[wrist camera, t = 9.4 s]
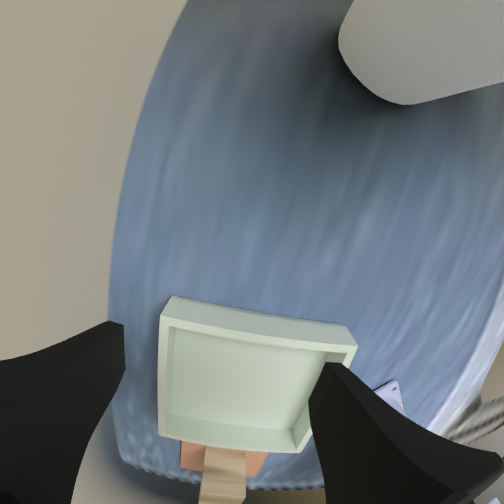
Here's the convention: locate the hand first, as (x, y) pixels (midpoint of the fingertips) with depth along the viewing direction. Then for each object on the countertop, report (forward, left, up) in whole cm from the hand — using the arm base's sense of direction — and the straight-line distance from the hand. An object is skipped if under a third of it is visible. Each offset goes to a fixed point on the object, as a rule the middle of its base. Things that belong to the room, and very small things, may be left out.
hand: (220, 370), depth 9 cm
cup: (+9, -17, -10) cm, 21 cm away
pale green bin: (-8, +4, -9) cm, 13 cm away
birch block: (-17, +11, -9) cm, 22 cm away
